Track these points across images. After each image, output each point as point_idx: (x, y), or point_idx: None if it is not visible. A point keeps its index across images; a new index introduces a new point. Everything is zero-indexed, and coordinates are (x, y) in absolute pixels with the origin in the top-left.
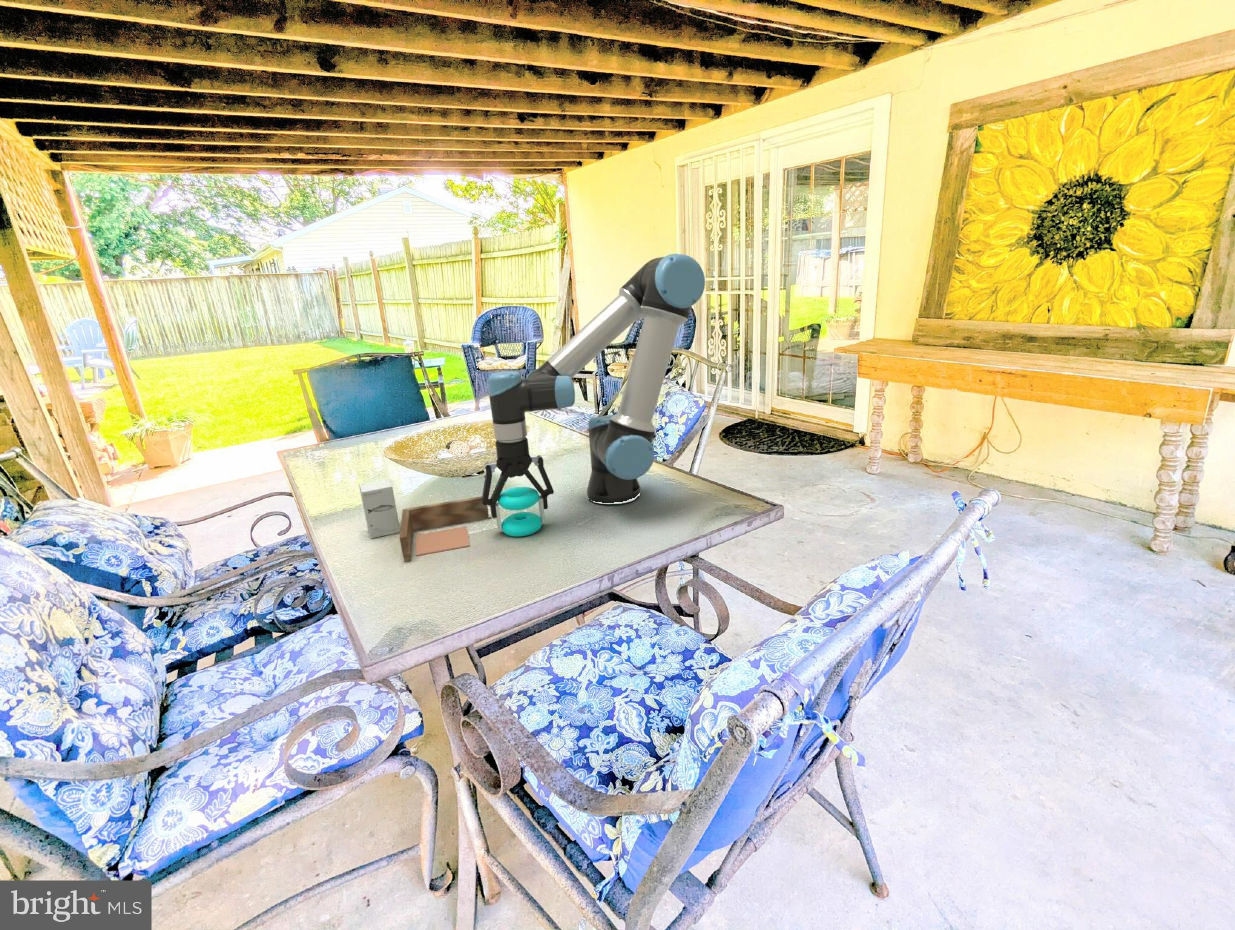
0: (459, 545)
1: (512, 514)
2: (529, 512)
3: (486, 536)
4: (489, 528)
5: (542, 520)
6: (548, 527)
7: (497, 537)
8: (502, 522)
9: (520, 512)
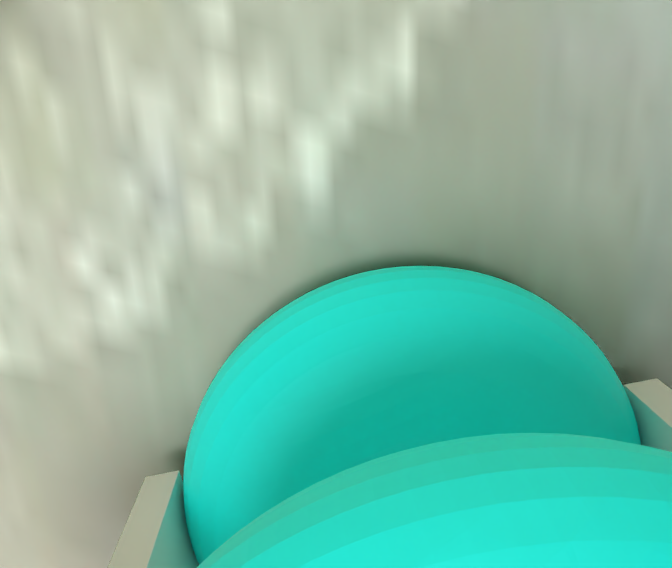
0: None
1: (319, 450)
2: (548, 427)
3: (50, 517)
4: (39, 335)
5: None
6: None
7: None
8: (199, 537)
9: (428, 412)
